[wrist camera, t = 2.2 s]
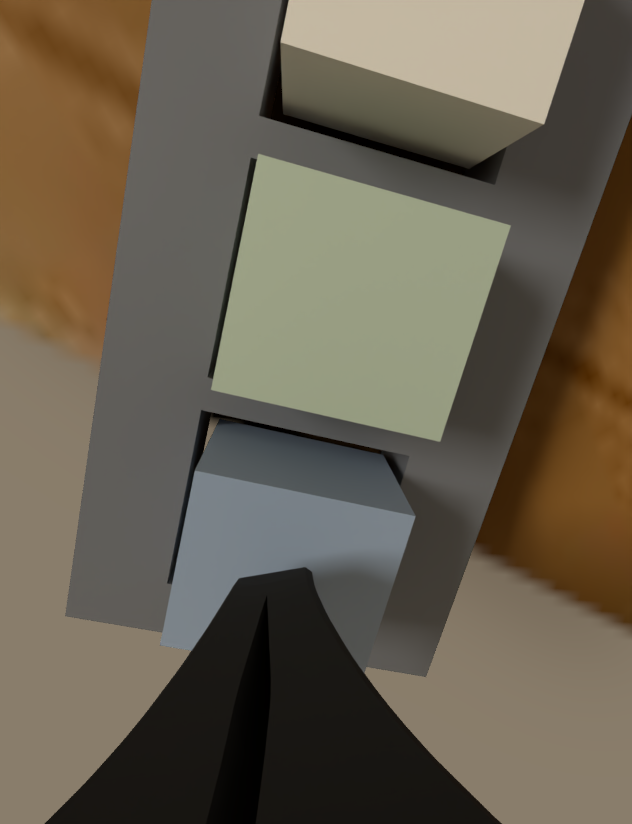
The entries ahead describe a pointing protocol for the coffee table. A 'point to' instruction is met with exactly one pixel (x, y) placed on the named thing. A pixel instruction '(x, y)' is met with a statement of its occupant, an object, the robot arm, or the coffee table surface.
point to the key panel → (212, 280)
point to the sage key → (354, 300)
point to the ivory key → (426, 70)
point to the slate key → (289, 530)
